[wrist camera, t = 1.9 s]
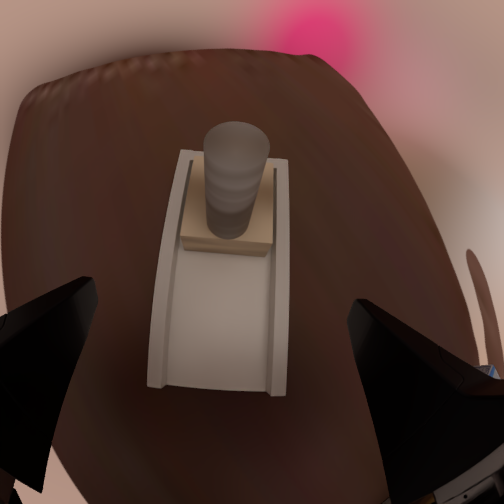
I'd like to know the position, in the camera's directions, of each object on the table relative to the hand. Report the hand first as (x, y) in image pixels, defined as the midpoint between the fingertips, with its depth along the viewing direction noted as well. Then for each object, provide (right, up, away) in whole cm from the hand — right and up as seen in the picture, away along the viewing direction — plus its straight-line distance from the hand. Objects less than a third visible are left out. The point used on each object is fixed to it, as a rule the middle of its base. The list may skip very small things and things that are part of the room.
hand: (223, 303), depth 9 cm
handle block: (-1, +5, +14) cm, 15 cm away
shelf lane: (-1, 0, +14) cm, 14 cm away
